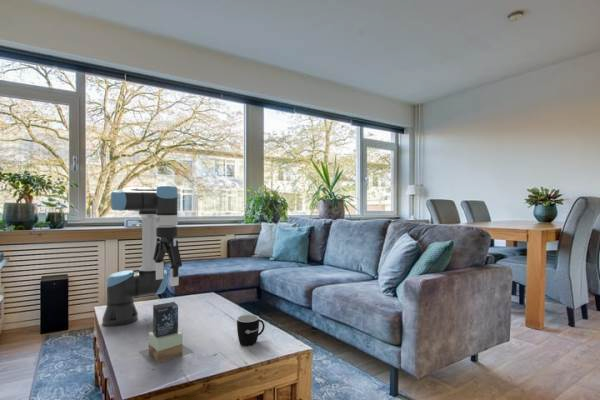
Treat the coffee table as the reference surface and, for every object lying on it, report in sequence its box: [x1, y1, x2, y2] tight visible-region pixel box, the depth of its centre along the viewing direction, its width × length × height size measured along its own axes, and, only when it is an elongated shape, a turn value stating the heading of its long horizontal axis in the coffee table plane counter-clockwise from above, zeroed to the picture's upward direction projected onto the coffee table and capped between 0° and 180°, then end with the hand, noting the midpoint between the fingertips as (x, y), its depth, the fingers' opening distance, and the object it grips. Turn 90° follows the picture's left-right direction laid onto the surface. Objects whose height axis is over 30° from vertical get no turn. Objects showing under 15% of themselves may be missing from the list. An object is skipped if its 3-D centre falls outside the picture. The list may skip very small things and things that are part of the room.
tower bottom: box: [148, 343, 183, 363], centre depth 125 cm, size 9×9×4 cm
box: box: [152, 301, 179, 337], centre depth 125 cm, size 8×6×11 cm
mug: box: [236, 314, 266, 347], centre depth 137 cm, size 12×9×10 cm
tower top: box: [148, 330, 183, 351], centre depth 125 cm, size 9×9×4 cm
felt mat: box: [138, 343, 194, 366], centre depth 127 cm, size 15×15×1 cm
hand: (166, 282), depth 127 cm, fingers open, 13 cm apart
